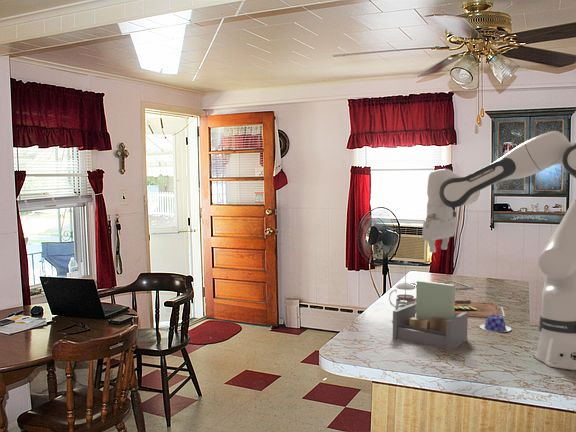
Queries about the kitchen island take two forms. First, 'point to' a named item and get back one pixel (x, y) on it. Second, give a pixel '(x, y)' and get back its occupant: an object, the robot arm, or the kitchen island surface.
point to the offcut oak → (420, 323)
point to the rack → (444, 340)
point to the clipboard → (457, 283)
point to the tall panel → (435, 300)
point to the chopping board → (475, 308)
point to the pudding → (495, 324)
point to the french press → (405, 297)
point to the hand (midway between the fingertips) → (438, 250)
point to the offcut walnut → (438, 324)
